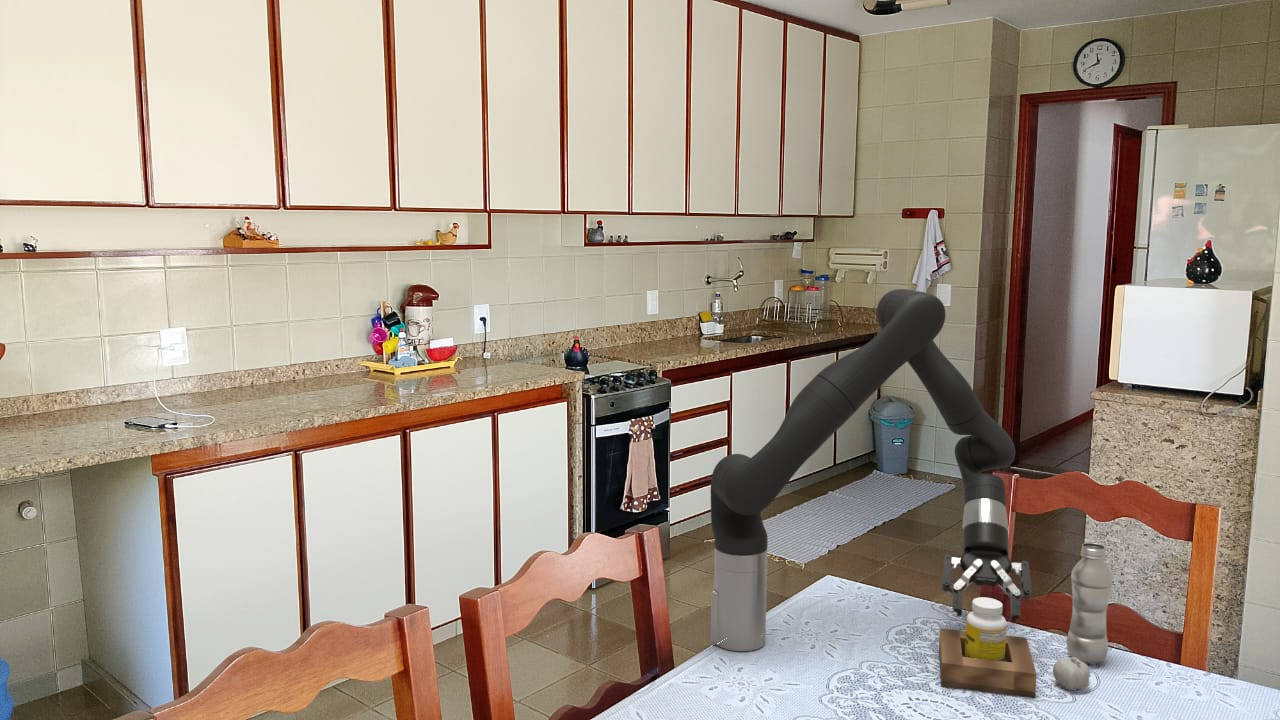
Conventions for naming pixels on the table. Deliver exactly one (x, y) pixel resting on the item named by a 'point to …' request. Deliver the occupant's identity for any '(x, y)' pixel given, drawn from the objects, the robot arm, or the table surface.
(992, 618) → the pill bottle
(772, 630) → the table surface
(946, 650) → the wooden square tray
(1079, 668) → the garlic
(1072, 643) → the plastic bottle
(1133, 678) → the table surface
